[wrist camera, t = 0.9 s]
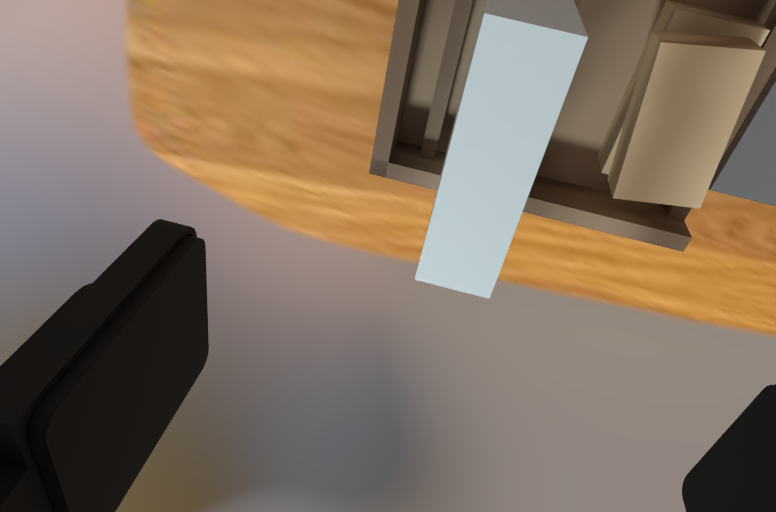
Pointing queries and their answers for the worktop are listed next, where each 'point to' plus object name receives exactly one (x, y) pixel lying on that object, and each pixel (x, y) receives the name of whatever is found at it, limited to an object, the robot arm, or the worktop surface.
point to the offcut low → (685, 21)
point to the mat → (752, 153)
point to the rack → (575, 121)
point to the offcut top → (682, 116)
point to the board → (499, 138)
